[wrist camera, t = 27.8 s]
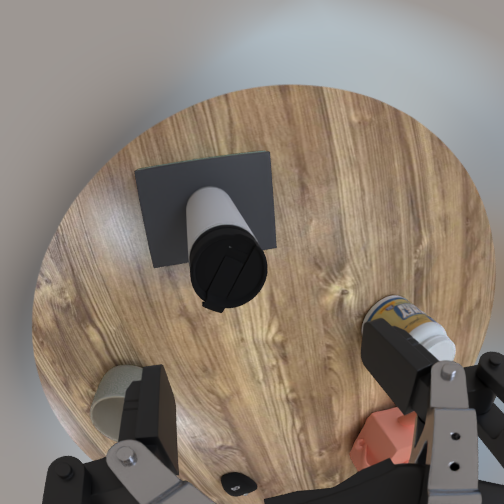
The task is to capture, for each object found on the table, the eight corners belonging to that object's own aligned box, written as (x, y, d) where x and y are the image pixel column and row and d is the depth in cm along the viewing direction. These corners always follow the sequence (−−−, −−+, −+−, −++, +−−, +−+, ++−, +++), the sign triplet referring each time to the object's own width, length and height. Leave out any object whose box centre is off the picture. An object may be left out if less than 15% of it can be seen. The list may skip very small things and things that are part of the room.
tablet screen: (135, 170, 39) (134, 171, 38) (268, 151, 42) (269, 151, 41) (154, 265, 44) (153, 268, 44) (275, 245, 47) (276, 248, 46)
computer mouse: (239, 468, 65) (242, 480, 62) (259, 483, 70) (262, 494, 66) (213, 477, 65) (215, 489, 62) (235, 492, 70) (238, 502, 66)
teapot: (364, 388, 64) (403, 441, 48) (430, 375, 69) (469, 415, 53) (333, 453, 71) (358, 501, 54) (396, 437, 76) (424, 476, 60)
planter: (107, 345, 49) (94, 385, 38) (173, 367, 52) (173, 409, 42) (96, 392, 51) (86, 432, 41) (155, 410, 55) (154, 452, 45)
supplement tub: (413, 290, 58) (468, 329, 42) (399, 341, 62) (445, 385, 46) (365, 295, 56) (419, 341, 40) (353, 349, 59) (396, 402, 44)
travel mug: (177, 222, 42) (175, 299, 24) (198, 178, 40) (212, 224, 22) (218, 239, 44) (245, 323, 26) (240, 197, 42) (285, 256, 24)
